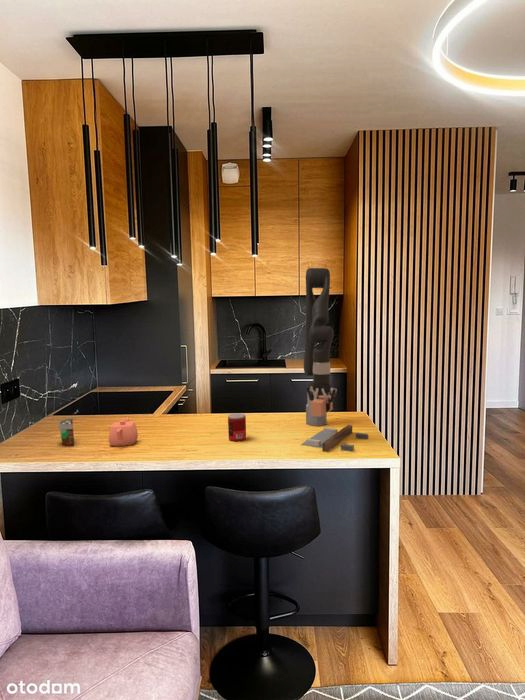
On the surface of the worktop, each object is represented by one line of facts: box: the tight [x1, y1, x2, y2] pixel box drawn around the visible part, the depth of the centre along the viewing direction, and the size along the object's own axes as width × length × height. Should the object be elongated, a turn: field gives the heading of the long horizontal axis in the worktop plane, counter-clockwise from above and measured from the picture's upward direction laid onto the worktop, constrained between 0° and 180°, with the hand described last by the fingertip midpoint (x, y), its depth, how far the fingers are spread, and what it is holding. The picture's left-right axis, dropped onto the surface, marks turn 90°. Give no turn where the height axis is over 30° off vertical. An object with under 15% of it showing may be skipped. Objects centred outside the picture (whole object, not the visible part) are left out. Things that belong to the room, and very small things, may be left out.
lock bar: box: [311, 395, 334, 417], centre depth 224 cm, size 4×14×6 cm, turn 152°
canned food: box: [227, 412, 247, 443], centre depth 228 cm, size 8×8×11 cm
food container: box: [57, 417, 75, 447], centre depth 228 cm, size 12×6×10 cm, turn 21°
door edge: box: [321, 424, 353, 453], centre depth 222 cm, size 2×30×4 cm, turn 151°
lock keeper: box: [300, 427, 338, 449], centre depth 226 cm, size 10×22×2 cm, turn 150°
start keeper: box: [340, 431, 369, 452], centre depth 218 cm, size 5×20×2 cm, turn 150°
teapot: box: [108, 416, 139, 447], centre depth 227 cm, size 12×18×10 cm, turn 1°
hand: (322, 410), depth 224 cm, fingers closed on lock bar, 4 cm apart
